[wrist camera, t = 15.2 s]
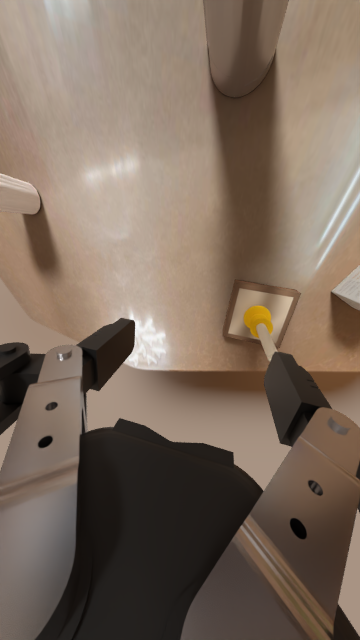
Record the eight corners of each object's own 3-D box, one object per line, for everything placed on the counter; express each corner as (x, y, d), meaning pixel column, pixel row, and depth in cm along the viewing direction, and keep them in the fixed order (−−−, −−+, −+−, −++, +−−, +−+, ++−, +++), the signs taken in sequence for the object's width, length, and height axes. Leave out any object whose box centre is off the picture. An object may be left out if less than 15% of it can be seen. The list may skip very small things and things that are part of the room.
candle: (238, 321, 40) (245, 365, 26) (253, 300, 37) (269, 335, 23) (260, 333, 40) (279, 383, 26) (276, 313, 37) (307, 356, 23)
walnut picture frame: (222, 330, 45) (222, 336, 42) (235, 279, 40) (235, 282, 37) (275, 341, 43) (279, 348, 40) (295, 289, 38) (301, 293, 35)
